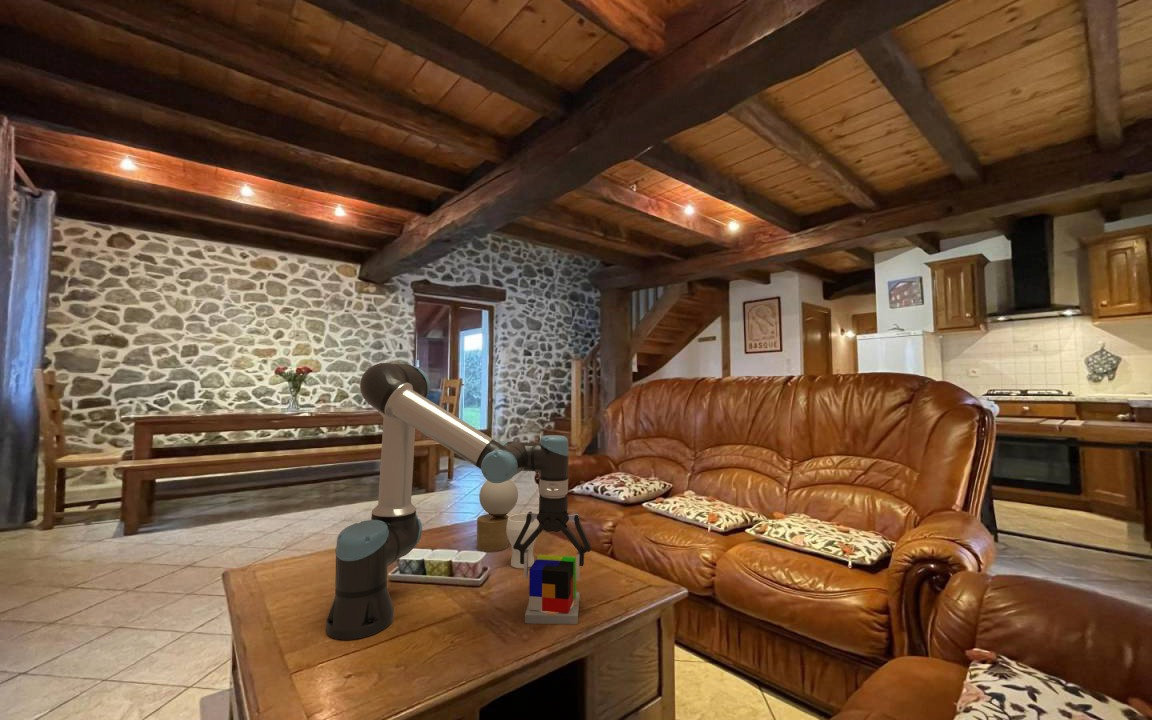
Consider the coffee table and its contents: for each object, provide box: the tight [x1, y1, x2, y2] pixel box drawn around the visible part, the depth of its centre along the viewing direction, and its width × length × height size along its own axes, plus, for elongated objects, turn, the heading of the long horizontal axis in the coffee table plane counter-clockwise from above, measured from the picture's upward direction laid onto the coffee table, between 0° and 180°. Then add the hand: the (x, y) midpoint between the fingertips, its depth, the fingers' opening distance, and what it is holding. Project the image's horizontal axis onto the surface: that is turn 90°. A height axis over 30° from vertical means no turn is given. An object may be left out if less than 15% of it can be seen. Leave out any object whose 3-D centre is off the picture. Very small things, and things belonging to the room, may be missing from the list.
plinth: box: [524, 591, 580, 625], centre depth 119 cm, size 13×13×2 cm
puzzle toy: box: [528, 554, 577, 613], centre depth 119 cm, size 10×10×10 cm
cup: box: [506, 513, 540, 569], centre depth 151 cm, size 11×11×15 cm
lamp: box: [476, 479, 519, 553], centre depth 168 cm, size 15×14×25 cm
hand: (551, 577), depth 119 cm, fingers open, 13 cm apart
